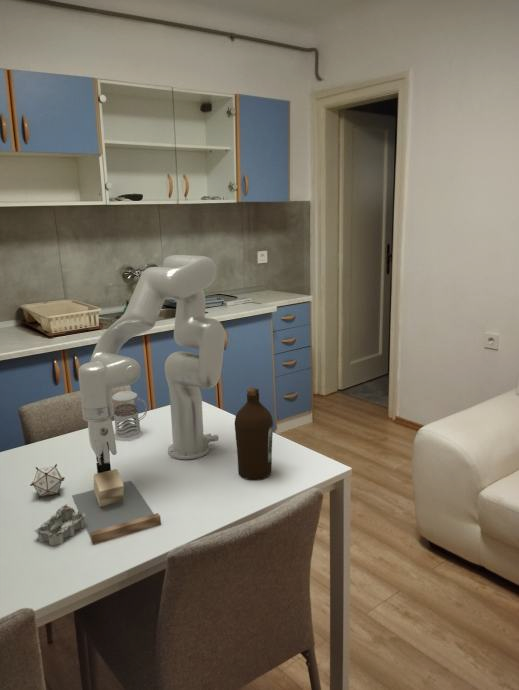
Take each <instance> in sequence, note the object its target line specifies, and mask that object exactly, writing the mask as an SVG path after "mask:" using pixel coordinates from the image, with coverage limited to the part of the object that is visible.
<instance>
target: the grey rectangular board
mask: <svg viewBox="0 0 519 690" xmlns="http://www.w3.org/2000/svg"><path fill="white" fill-rule="evenodd" d="M122 482H123V481H122ZM123 485H124V492H123V502H119V503H116V504H112V505H108V506H104V507H101V508H100V507H99V504H98V501H97V498H96V495H95V492H94V489H92V490H88V491H85V492H80V493H76V494H73V495H71V497H72V500H73V501H74V504H75V507H76V509H77V512H78V511H80V512H81V513H85V514H87V515H85V516H84V521H85V522H84V523H85V527H84V528H85V529H86V532H87V534H88V537H89V539H90V540H91V533H90V532H93V531H97V530H100V529H104V528H107V527H111V526H114V525H118V524H121V523H125V522H128V521H132V520H135V519H139V518H142V517H146V516H149V515H153V514H155V513H154V512H153V510H152V509H151V507H150V505H148V503H147V501H146V500H145V499H144V497H143V495H142V494H141V493H140V491H139V489H138V488H137V486H135V484H134V483H133V481H132V480H127V481H124V482H123Z"/></svg>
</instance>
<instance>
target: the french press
mask: <svg viewBox="0 0 519 690" xmlns="http://www.w3.org/2000/svg"><path fill="white" fill-rule="evenodd" d="M137 396H138V393H137V392H134V391H131V390H126V389H125V387H123V390H121V391H119V392H116V393H114V394H112V401H115V402H119V403H120V402H122V403H124V404H119V405H117V406H116V407H114V415H113V418H114V427H115V432H114V436H115V441H117V442H131V441H134V440H137V439H140V438H141V437H143V435H144V432H143V431H142V430H141V423H140V422H141V420H143V419H145V417H146V415H147V412H148V408H147V404H146V402H145V400H143V399H142V398H140V397H137ZM133 400H136V404H139V401H140V402H143V404H144V407H145V409H144V413H143V414H142V416H140V417H139V410H138V409H137V408H138V407H137V405H136V404H133V403H127V402H130V401H133Z"/></svg>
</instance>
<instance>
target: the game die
mask: <svg viewBox="0 0 519 690" xmlns="http://www.w3.org/2000/svg"><path fill="white" fill-rule="evenodd" d="M57 466H58V464H57V463H55V465H54V466H49V467H43V468H38V467H37V466H35V469H36V473H35V477H34V479H33V481H32V482H31V483H30V484H29V486H31V487H32V486H33V488H34V489H35V491H36V492H37V494H38V495H39V496H38V499H41V498H42V497H45V496H51V495H57V496H60V495H61V493H60V488H61V485H62V482H63V481H65V478H66V477H65V476H61V474H60V472H59V470H58V468H57Z"/></svg>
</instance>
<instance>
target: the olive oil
mask: <svg viewBox="0 0 519 690" xmlns="http://www.w3.org/2000/svg"><path fill="white" fill-rule="evenodd" d="M273 426H274V421H273V416H272V414H271V411H270V410H269V409H268V408H267V407H265V405H264V404H262V402H260V388H259V387H251V386H250V387H248V388H247V389H246V402H245V404H244V405H243V406H241V408H240V409H239V410H238V411H237V413H236V415H235V418H234V432H235V434H234V435H235V443H236V454H237V455H236V457H237V468H238V469H237V472H238V475H239V476H240V477H241V478H242V479H244V480H249V481H259V480H260V481H261V480H265V479H266V478H268V477H270V475H271V474H272V469H273V468H272V460H273V458H272V457H273V430H274V429H273V428H274V427H273Z"/></svg>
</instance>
